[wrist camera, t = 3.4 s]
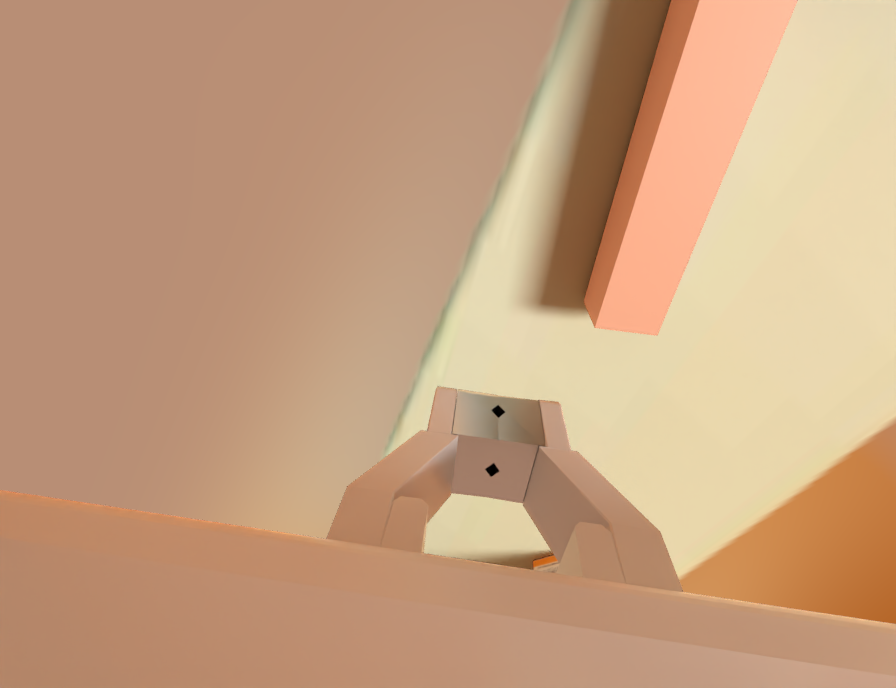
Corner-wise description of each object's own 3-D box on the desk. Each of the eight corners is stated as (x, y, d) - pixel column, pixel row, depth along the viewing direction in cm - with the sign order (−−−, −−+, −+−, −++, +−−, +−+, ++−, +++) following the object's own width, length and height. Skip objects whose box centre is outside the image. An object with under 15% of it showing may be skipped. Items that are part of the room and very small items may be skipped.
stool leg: (700, -106, 16) (753, -161, 13) (788, -100, 16) (866, -153, 13) (582, 300, 26) (595, 329, 22) (637, 306, 26) (658, 337, 22)
